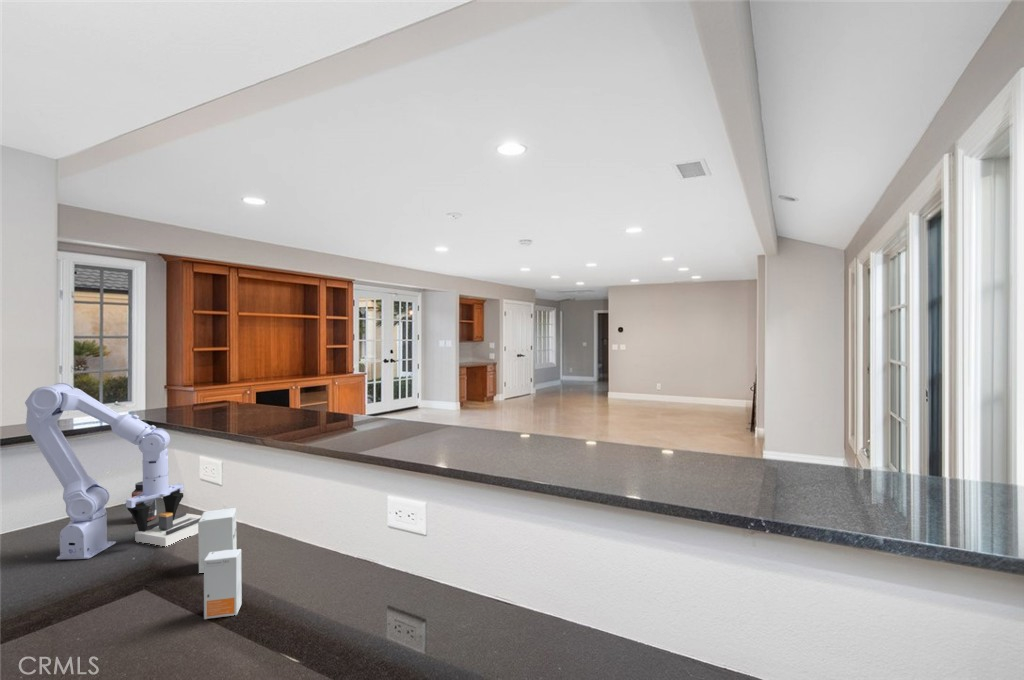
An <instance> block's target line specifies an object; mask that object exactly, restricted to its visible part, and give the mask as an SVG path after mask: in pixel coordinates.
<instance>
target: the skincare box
mask: <svg viewBox="0 0 1024 680" xmlns="http://www.w3.org/2000/svg"><path fill="white" fill-rule="evenodd" d="M242 589H243V588H242V548H238V549H235V550H223V551H216V552H209V554H208V555H207V557H206V558H205V560H204V574H203V619H204V620H208V619H216V618H222V617H224V618H225V617H230V616H231V617H234V615H235V616H237V615H238V614H239V610H240V608H241V606H242V604H243V603H242V601H243V600H242V598H243V595H242Z"/></svg>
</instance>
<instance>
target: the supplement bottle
mask: <svg viewBox="0 0 1024 680" xmlns="http://www.w3.org/2000/svg"><path fill="white" fill-rule="evenodd" d="M134 486H135V487H134V488H135V489H134V490H133V491H132V492H131V498H133V497H135V496H137V495H139V494H141V493H143V480H142V481H139V482H136V483H135V485H134ZM144 504H146V506H150V509H149V513H148V518H147V521H148V522H151V521H153V520H155V519H156V518H157V499H155V500H152V501H149V502H146V503H144ZM131 517H132V522H133V523H135V524H136V521H135V519H134V517H133V516H132V515H131ZM150 520H151V521H150Z"/></svg>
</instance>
